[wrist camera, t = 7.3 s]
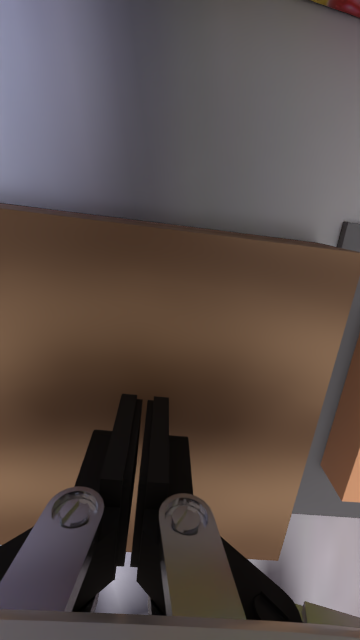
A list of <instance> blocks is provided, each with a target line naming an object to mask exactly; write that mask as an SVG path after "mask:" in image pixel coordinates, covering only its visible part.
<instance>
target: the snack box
mask: <svg viewBox="0 0 360 640" xmlns="http://www.w3.org/2000/svg"><path fill="white" fill-rule="evenodd" d="M310 1H313V2H316V3H319V4H322V5H325V6H328V7H330V8H333V9H336V10H339V11H342V12H345V13H348V14H350V15H353V16H356V17H359V18H360V0H310Z"/></svg>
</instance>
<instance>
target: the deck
mask: <svg viewBox="0 0 360 640" xmlns="http://www.w3.org/2000/svg"><path fill="white" fill-rule="evenodd" d="M359 277H360V252H356V251H352V250H347V249H343V248H338V247H334V246H329V245H325V244H320V243H315V242H307V241H299V240H291V239H283V238H275V237H267V236H259V235H251V234H243V233H235V232H227V231H219V230H211V229H203V228H195V227H187V226H179V225H171V224H163V223H155V222H147V221H139V220H131V219H123V218H115V217H107V216H99V215H91V214H83V213H75V212H67V211H59V210H51V209H43V208H35V207H27V206H19V205H11V204H3V203H0V545H3V544H5V543H7V542H8V541H10V540H12V539H13V538H15V537H17V536H18V535H20V534H22V533H23V532H25V531H27V530H28V529H30V528H32V527H33V526H34V525H35V524H36V522H37V520H38V519H39V517H40V515H41V514H42V512H43V510H44V509H45V507H46V505H47V504H48V502H49V501H50V500H51V499H52V498H53V496H55V495H56V494H58V493H59V492H60V491H63V490H65V489H67V488H71V487H74V486H75V483H76V480H77V477H78V474H79V471H80V468H81V465H82V462H83V459H84V457H85V454H86V451H87V448H88V445H89V442H90V439H91V436H92V433H93V431H94V430H108V431H112V430H113V426H114V422H115V419H116V415H117V411H118V407H119V403H120V399H121V395H122V394H133V395H137V399H143V402H142V413H141V424H140V434H139V445H138V455H137V466H136V474H135V482H134V490H133V498H132V506H131V514H130V522H129V530H128V538H127V546H126V552H132V543H133V533H134V523H135V513H136V503H137V492H138V483H139V473H140V464H141V455H142V446H143V437H144V428H145V419H146V410H147V401H148V400H154V396H157V397H168V398H169V435H172V436H185V437H188V440H189V450H190V462H191V473H192V485H193V495H194V496H197V497H199V498H200V499H202V500H204V501H205V502H206V503H207V504H208V505H209V507H210V508H211V510H212V512H213V515H214V518H215V521H216V524H217V528H218V531H219V534H220V536H221V537H222V538H223V539H224V540H225V541H227V542H228V543H229V544H230V545H231V546H232V547H234V548H235V549H236V550H237V551H238V552H239V553H240V554H242V555H243V556H244V557H245V558H246V559H258V560H276V561H278V559H279V556H280V552H281V549H282V545H283V542H284V538H285V535H286V531H287V528H288V524H289V521H290V517H291V514H292V510H293V507H294V503H295V500H296V496H297V493H298V489H299V486H300V483H301V479H302V476H303V472H304V469H305V465H306V462H307V458H308V455H309V451H310V448H311V444H312V441H313V437H314V434H315V430H316V427H317V423H318V420H319V416H320V413H321V409H322V406H323V402H324V399H325V395H326V392H327V389H328V385H329V382H330V378H331V375H332V371H333V368H334V364H335V361H336V357H337V354H338V350H339V347H340V343H341V340H342V336H343V333H344V329H345V326H346V322H347V319H348V315H349V312H350V308H351V305H352V301H353V298H354V295H355V291H356V288H357V284H358V281H359Z"/></svg>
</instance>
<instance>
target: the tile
mask: <svg viewBox="0 0 360 640" xmlns="http://www.w3.org/2000/svg"><path fill="white" fill-rule="evenodd" d="M320 465H321V467H322V469H323V471H324V472H325V474H326V476H327V477H328V479H329V481H330V482H331V484H332V486H333V487H334V489H335V491H336V492H337V494H338V496H339V497H340V499H341V501H345V502H359V503H360V334H359V337H358V340H357V344H356V347H355V350H354V354H353V357H352V360H351V364H350V367H349V370H348V374H347V377H346V380H345V384H344V387H343V391H342V394H341V397H340V401H339V404H338V407H337V411H336V414H335V417H334V421H333V424H332V427H331V431H330V434H329V438H328V441H327V444H326V448H325V451H324V454H323V458H322V461H321V464H320Z"/></svg>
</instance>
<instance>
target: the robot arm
mask: <svg viewBox="0 0 360 640" xmlns="http://www.w3.org/2000/svg"><path fill="white" fill-rule="evenodd" d="M142 402H143V399H137V395H133V394H122V395H121V399H120V403H119V407H118V411H117V415H116V419H115V422H114V426H113V430H112V431H108V430H94V431H93V433H92V436H91V439H90V442H89V445H88V448H87V451H86V454H85V457H84V459H83V462H82V465H81V468H80V471H79V474H78V477H77V480H76V483H75V486H74V487H71V488H67V489H65V490H63V491H60V492H59V493H58V494H56V495H55V496H53V498H52V499H51V500H50V501H49V502H48V504H47V505H46V507H45V509H44V510H43V512H42V514H41V515H40V517H39V519H38V520H37V522H36V524H35V525H34V526H33V527H32V528H30V529H28V530H27V531H25V532H23V533H22V534H20V535H18V536H17V537H15V538H13V539H12V540H10V541H8V542H7V543H5V544H3V545H2V546H0V640H360V618H359V617H356V616H352V615H349V614H346V613H342V612H339V611H336V610H332V609H329V608H326V607H322V606H319V605H316V604H312V603H309V602H306V601H305V602H304V605H303V606H301V605H298V604H294V602H293V600H292V599H291V598H290V597H289V596H288V595H287V594H286V593H285V592H284V591H283V590H282V589H281V588H280V587H279V586H277V585H276V584H275V583H274V582H273V581H272V580H271V579H269V578H268V577H267V576H266V575H265V574H264V573H262V572H261V571H260V570H259V569H258V568H257V567H256V566H254V565H253V564H252V563H251V562H250V561H249V560H247V559H246V558H245V557H244V556H243V555H242V554H240V553H239V552H238V551H237V550H236V549H235V548H234V547H232V546H231V545H230V544H229V543H228V542H227V541H225V540H224V539H223V538H222V537H221V536H220V534H219V531H218V528H217V524H216V521H215V518H214V515H213V512H212V510H211V508H210V507H209V505H208V504H207V503H206V502H205V501H204V500H202V499H200V498H199V497H197V496H194V495H193V485H192V473H191V462H190V450H189V440H188V437H185V436H172V435H169V398H168V397H157V396H154V400H148V401H147V410H146V419H145V428H144V437H143V446H142V455H141V464H140V473H139V483H138V492H137V503H136V513H135V523H134V533H133V543H132V554H131V564H130V567H138V570H137V582H138V583H139V585H140V586H141V587H142V588H143V589H144V591H145V592H146V593H147V594H148V614H149V615H135V614H111V613H94V612H95V609H96V606H97V602H98V596H99V592H100V591H101V590H102V589H103V588H105V587H106V586H107V585H108V584H109V583H110V582H112V581H113V580H115V573H116V566H124V562H125V554H126V546H127V538H128V530H129V522H130V514H131V506H132V498H133V490H134V482H135V474H136V466H137V455H138V445H139V434H140V424H141V413H142Z"/></svg>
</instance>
